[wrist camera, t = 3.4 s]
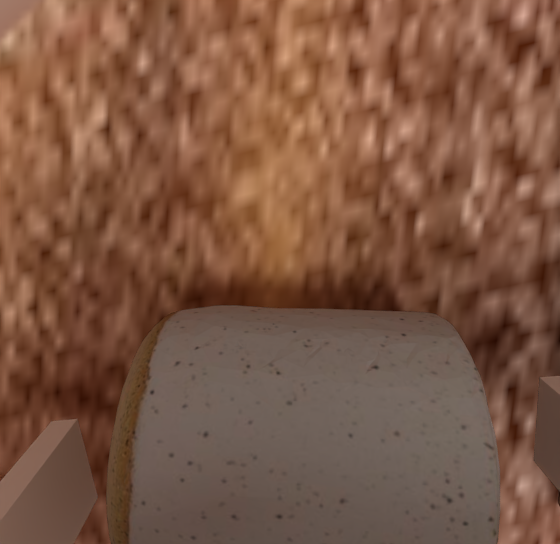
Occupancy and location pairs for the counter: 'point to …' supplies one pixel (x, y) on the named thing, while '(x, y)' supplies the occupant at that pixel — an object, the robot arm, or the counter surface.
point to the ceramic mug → (303, 432)
